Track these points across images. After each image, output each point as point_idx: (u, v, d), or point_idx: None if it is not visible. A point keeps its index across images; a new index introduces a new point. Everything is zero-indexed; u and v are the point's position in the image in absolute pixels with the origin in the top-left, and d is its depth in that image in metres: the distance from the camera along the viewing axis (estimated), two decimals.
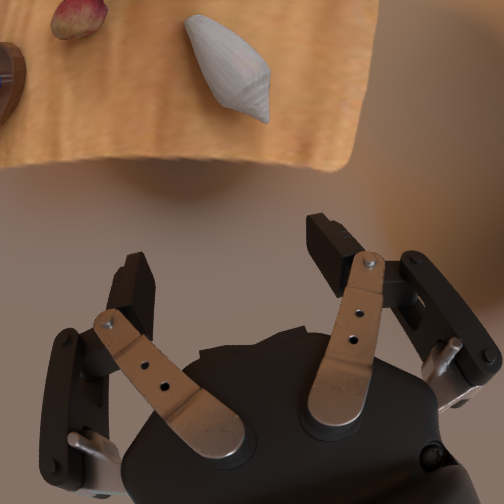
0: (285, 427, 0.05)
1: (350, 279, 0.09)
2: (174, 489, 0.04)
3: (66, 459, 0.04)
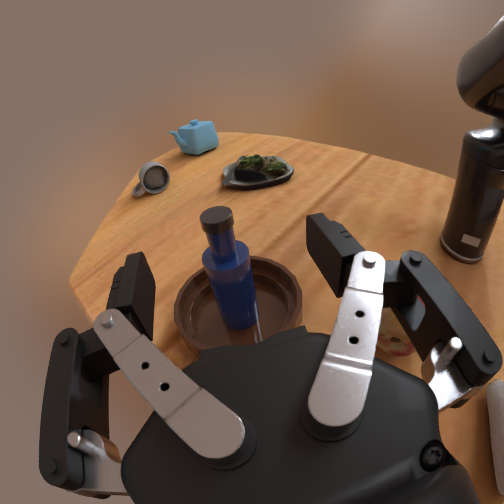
0: (285, 427, 0.05)
1: (350, 279, 0.09)
2: (174, 489, 0.04)
3: (66, 459, 0.04)
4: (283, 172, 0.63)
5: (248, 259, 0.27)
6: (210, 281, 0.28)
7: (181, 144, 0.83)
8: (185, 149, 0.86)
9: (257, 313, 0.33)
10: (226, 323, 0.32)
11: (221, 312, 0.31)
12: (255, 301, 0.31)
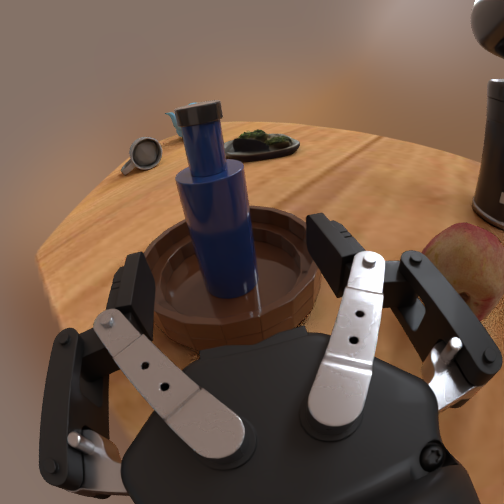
0: (285, 427, 0.05)
1: (350, 279, 0.09)
2: (174, 489, 0.04)
3: (66, 459, 0.04)
4: (288, 144, 0.54)
5: (243, 176, 0.18)
6: (185, 210, 0.18)
7: None
8: None
9: (255, 274, 0.23)
10: (209, 286, 0.22)
11: (202, 268, 0.21)
12: (252, 252, 0.21)
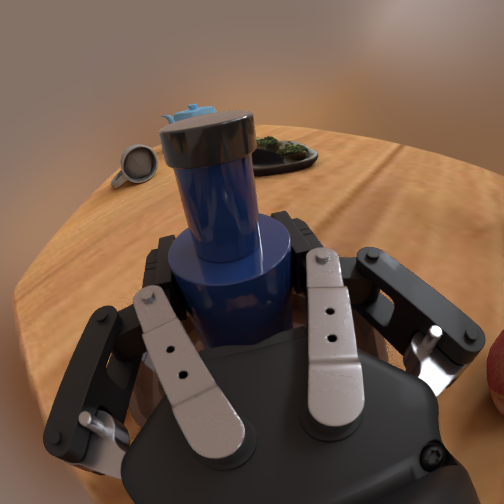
0: (285, 427, 0.05)
1: (308, 279, 0.09)
2: (174, 489, 0.04)
3: (72, 435, 0.05)
4: (305, 155, 0.47)
5: (290, 257, 0.10)
6: (189, 311, 0.11)
7: None
8: None
9: None
10: None
11: None
12: None
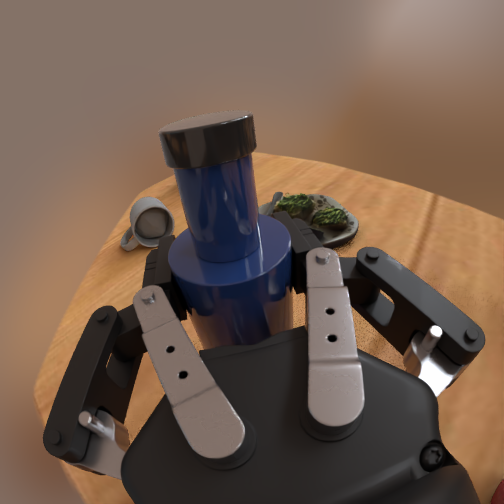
0: (285, 427, 0.05)
1: (308, 279, 0.09)
2: (174, 489, 0.04)
3: (72, 435, 0.05)
4: (345, 226, 0.42)
5: (291, 257, 0.10)
6: (189, 312, 0.11)
7: None
8: None
9: None
10: None
11: None
12: None
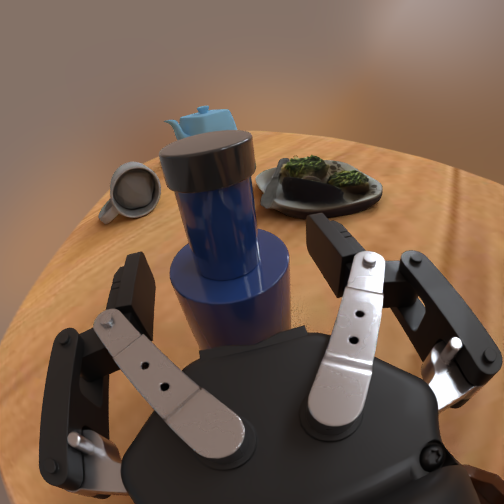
0: (285, 427, 0.05)
1: (350, 279, 0.09)
2: (174, 489, 0.04)
3: (66, 459, 0.04)
4: (367, 188, 0.34)
5: (289, 274, 0.11)
6: (191, 325, 0.11)
7: None
8: None
9: None
10: None
11: None
12: None
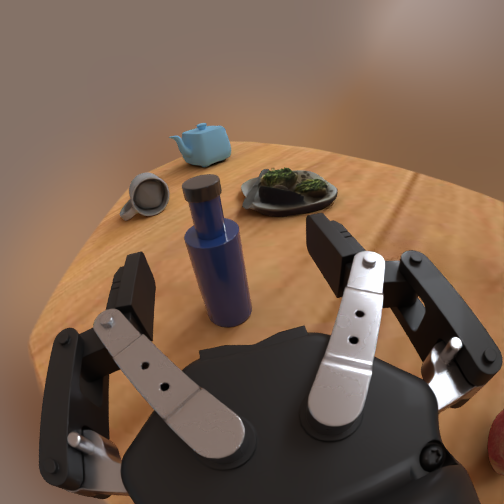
0: (285, 427, 0.05)
1: (350, 279, 0.09)
2: (174, 489, 0.04)
3: (66, 459, 0.04)
4: (325, 193, 0.46)
5: (238, 238, 0.23)
6: (193, 264, 0.24)
7: (185, 152, 0.68)
8: (190, 159, 0.71)
9: (249, 307, 0.28)
10: (212, 318, 0.27)
11: (206, 304, 0.27)
12: (246, 292, 0.27)
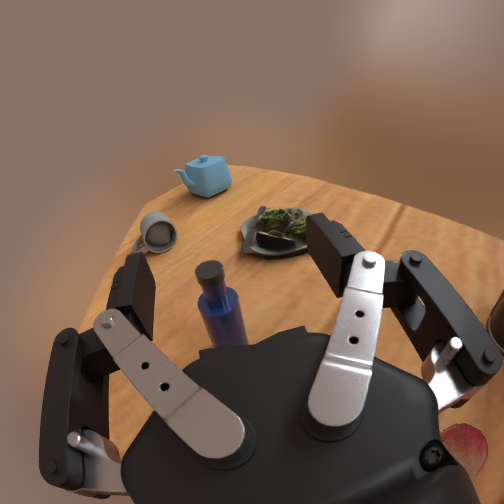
0: (285, 427, 0.05)
1: (350, 279, 0.09)
2: (174, 489, 0.04)
3: (66, 459, 0.04)
4: None
5: (238, 305, 0.31)
6: (205, 322, 0.31)
7: (189, 185, 0.75)
8: (193, 190, 0.78)
9: None
10: None
11: (214, 347, 0.34)
12: (244, 338, 0.34)
